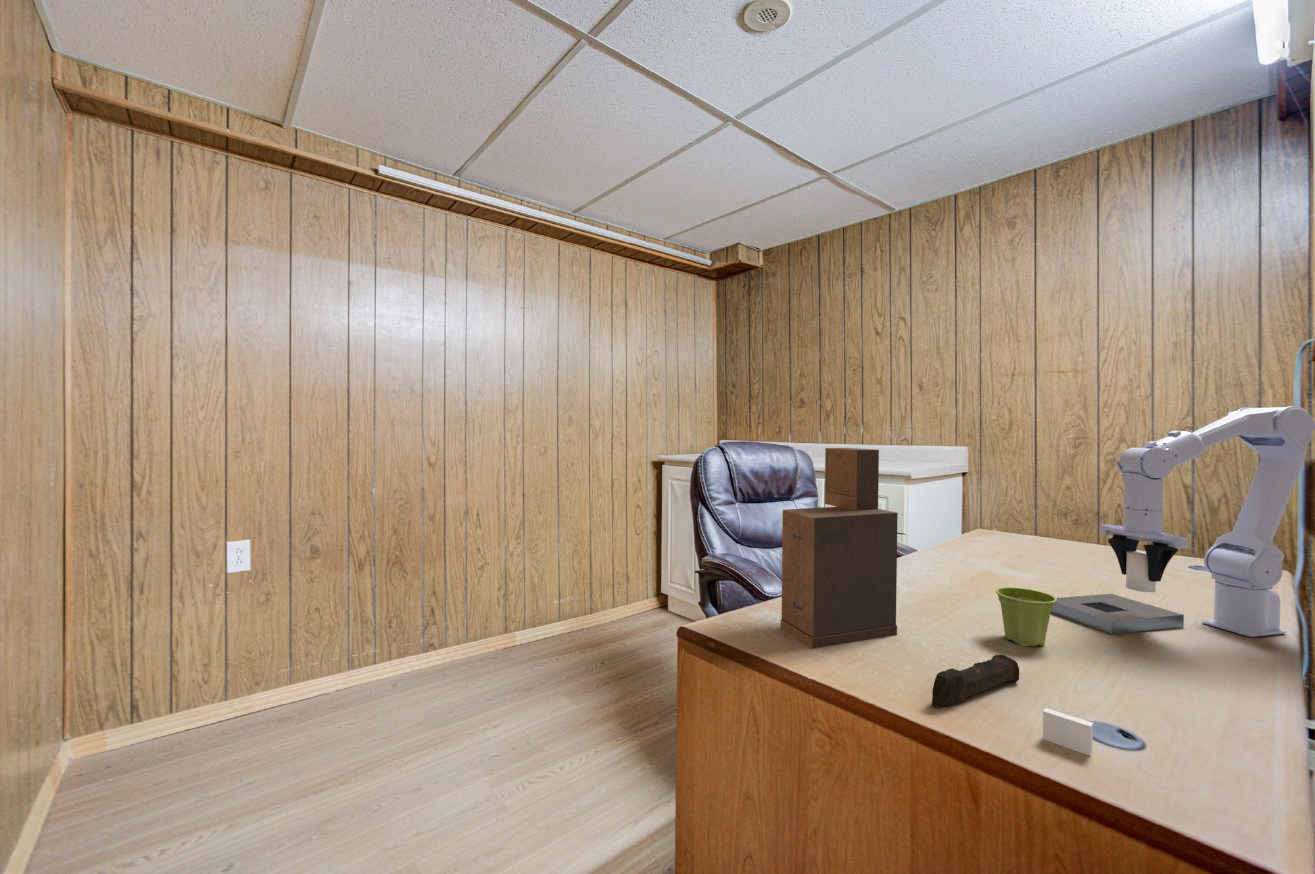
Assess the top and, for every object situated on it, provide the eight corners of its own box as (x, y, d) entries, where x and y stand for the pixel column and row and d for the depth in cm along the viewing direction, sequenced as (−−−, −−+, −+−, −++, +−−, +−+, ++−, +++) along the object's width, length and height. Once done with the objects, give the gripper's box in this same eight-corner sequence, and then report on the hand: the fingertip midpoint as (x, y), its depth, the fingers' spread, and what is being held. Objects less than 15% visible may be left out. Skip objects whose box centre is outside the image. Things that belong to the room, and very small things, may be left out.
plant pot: (994, 627, 108) (995, 584, 108) (1053, 637, 104) (1054, 591, 103) (995, 643, 100) (995, 596, 100) (1058, 655, 96) (1059, 605, 95)
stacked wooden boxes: (847, 611, 118) (848, 447, 117) (897, 635, 104) (899, 450, 104) (769, 621, 111) (771, 448, 110) (812, 648, 98) (814, 451, 97)
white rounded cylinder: (1137, 585, 111) (1138, 550, 111) (1161, 591, 107) (1162, 555, 107) (1120, 586, 110) (1120, 551, 110) (1143, 592, 106) (1144, 556, 106)
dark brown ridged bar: (994, 674, 88) (994, 646, 88) (1020, 685, 85) (1020, 655, 85) (915, 702, 80) (915, 670, 80) (940, 714, 76) (941, 681, 76)
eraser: (1090, 756, 66) (1091, 726, 66) (1042, 739, 70) (1042, 711, 70) (1092, 752, 67) (1093, 722, 67) (1044, 736, 71) (1045, 707, 71)
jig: (1111, 604, 123) (1111, 593, 123) (1183, 627, 109) (1183, 614, 109) (1045, 610, 119) (1045, 598, 119) (1111, 634, 105) (1111, 621, 105)
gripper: (1089, 504, 114) (1088, 569, 115) (1169, 515, 100) (1166, 589, 101) (1116, 503, 116) (1114, 567, 116) (1198, 514, 102) (1195, 587, 102)
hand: (1140, 577), depth 109 cm, fingers closed on white rounded cylinder, 4 cm apart
